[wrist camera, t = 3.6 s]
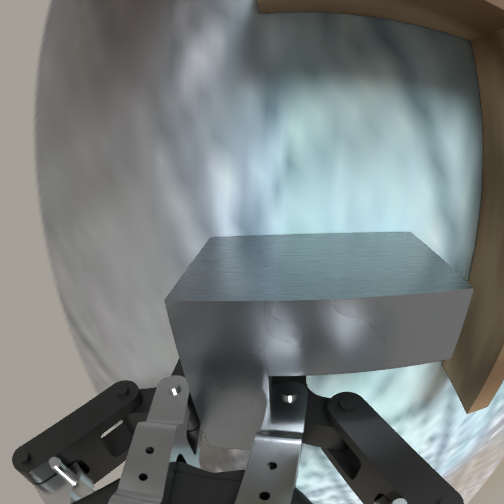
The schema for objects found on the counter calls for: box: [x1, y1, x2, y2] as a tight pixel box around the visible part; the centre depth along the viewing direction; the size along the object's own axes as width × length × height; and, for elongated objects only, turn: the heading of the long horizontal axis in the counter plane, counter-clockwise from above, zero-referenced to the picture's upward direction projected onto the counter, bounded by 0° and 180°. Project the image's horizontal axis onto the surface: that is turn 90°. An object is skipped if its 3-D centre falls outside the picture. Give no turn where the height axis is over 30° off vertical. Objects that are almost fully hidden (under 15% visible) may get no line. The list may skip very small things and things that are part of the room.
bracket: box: [165, 232, 474, 450], centre depth 10 cm, size 7×8×5 cm
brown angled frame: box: [257, 0, 504, 414], centre depth 8 cm, size 18×11×4 cm, turn 4°
